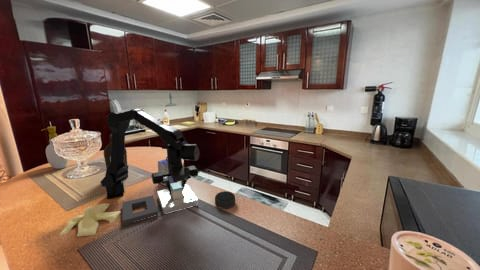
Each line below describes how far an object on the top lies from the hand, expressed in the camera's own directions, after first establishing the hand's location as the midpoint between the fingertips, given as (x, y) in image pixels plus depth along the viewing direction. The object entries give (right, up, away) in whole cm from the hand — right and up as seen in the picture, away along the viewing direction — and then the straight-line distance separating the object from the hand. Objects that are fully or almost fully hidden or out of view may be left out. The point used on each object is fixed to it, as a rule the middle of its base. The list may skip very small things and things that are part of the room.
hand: (176, 192), depth 87 cm
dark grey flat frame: (-13, -6, -6) cm, 16 cm away
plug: (0, -5, +1) cm, 5 cm away
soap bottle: (-87, +5, +37) cm, 94 cm away
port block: (0, -4, +1) cm, 4 cm away
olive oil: (-40, +1, +23) cm, 46 cm away
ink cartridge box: (-10, -1, +18) cm, 21 cm away
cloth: (-29, -8, -13) cm, 33 cm away
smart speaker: (+22, -5, 0) cm, 22 cm away
